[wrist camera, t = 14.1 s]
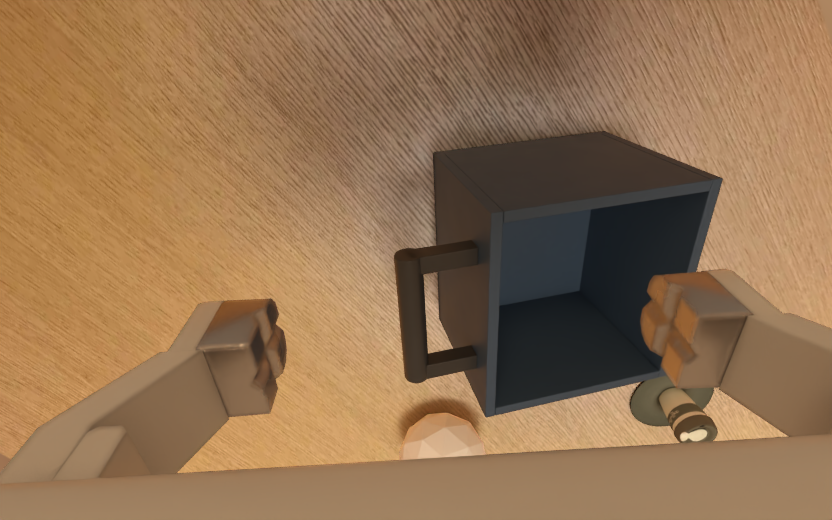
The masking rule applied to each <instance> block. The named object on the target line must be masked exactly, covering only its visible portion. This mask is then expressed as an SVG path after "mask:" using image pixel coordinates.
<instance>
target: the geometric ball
mask: <svg viewBox="0 0 832 520" xmlns="http://www.w3.org/2000/svg"><path fill="white" fill-rule="evenodd" d="M474 455H486V454H485V449H484V444H483V441H482V440H481V438H480V437H479V435H478V434H477V432H476V431H475V429H474V428H473V426H472V425H471V423H470V422H469V421H467V420H464V419H462V418H459V417H457V416H455V415H452V414H450V413H435V414H427V415H426V416H425V417H423V418H422V419H421V420H419V421H418V422H417V423H415V424H414V425H413V426H411V427H410V428H409V429H408V431H407V434H406V436H405V439H404V441H403V443H402V446H401V448H400V451H399V456H400V460H408V459H424V458H441V457H457V456H474Z"/></svg>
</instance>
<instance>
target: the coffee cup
mask: <svg viewBox="0 0 832 520" xmlns="http://www.w3.org/2000/svg"><path fill="white" fill-rule="evenodd" d="M713 391H714V388H685V389H676V387H675V386H674V384H673V383H672V381H671V380H670V378H669V377H668V376H667V374H666V376H663V377H658V378H655V379H651V380H646V381H644V382H643V383H642V384H641V385H640V386H639V387H638V388H637V389H636V391H635V392H634V394H633V396H632V399H631V403H630V406H631V411H632V414H633V415H634V417H635V418H636V419H637V420H639V421H640V422H642V423H644V424H647V425H651V426H671V428H672V430H673V431H674V435H675V437H676V438H677V439H678V441H679V442H680V443H693V442H711V441H713V440H714V439H715V438H716V436H717V433H718V431H717V428H716V426H715V424H714V422H713V420H712V419H711V418H710V417H708V416H707V415H706V414H705V412H704V411H703V409H704V408H705V407H706V405H707V404H708V403H709V401H710V399H711V397H712V395H713Z"/></svg>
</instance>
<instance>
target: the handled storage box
mask: <svg viewBox="0 0 832 520" xmlns="http://www.w3.org/2000/svg"><path fill="white" fill-rule="evenodd" d="M433 165H434V192H435V218H436V246H430V247H424V248H418V249H413V248H406V249H402V250H399V251H397V252H396V253H395V255H394V263H395V274H396V285H397V296H398V307H399V318H400V328H401V339H402V350H403V361H404V372H405V378H406V379H407V380H408V381H409V382H412V383H421V382H423V381H425V380H426V379H429V378H433V377H438V376H443V375H448V374H452V373H457V372H462V371H464V372H465V375H466V377H467V379H468V381H469V383H470V385H471V387H472V390H473V392H474V394H475V396H476V398H477V400H478V402H479V404H480V407H481V409H482V411H483V413H484V415H485V417H490V416H494V415H499V414H503V413H508V412H512V411H516V410H521V409H525V408H529V407H534V406H538V405H542V404H547V403H551V402H555V401H560V400H564V399H568V398H573V397H577V396H581V395H586V394H590V393H594V392H599V391H603V390H607V389H612V388H616V387H620V386H625V385H629V384H633V383H638V382H642V381H646V380H651V379H655V378H658V377H663V376H666V373H665V371H664V370H663V368H662V367H661V362H662V358H663V357H661V356H659V355H658V354H656V353H654V352H652V351H650V349H649V348H648V346H647V345H646V343H645V341H644V338H643V336H642V333H641V324H640V319H641V314H642V309H643V308H644V307H645V306H646V305H647V304H648V303H649V302H650V301H651V300H652V299H651V297H650V296H649V294H648V293H647V289H648V285H649V282H650V280H651V279H652V277H653V276H654V275H665V274H678V273H691V272H696V270H697V267H698V263H699V260H700V256H701V253H702V249H703V246H704V242H705V239H706V235H707V232H708V229H709V225H710V222H711V218H712V215H713V211H714V208H715V204H716V201H717V197H718V194H719V190H720V187H721V184H722V180H723V179H722V178H720V177H717V176H715V175H712V174H710V173H707V172H705V171H702V170H700V169H697V168H695V167H692V166H690V165H687V164H685V163H682V162H680V161H677V160H675V159H672V158H670V157H667V156H665V155H662V154H660V153H657V152H655V151H652V150H650V149H647V148H645V147H642V146H640V145H637V144H635V143H632V142H630V141H627V140H625V139H622V138H620V137H617V136H615V135H612V134H610V133H607V132H605V131H603V132H595V133H587V134H579V135H571V136H563V137H555V138H546V139H538V140H530V141H522V142H514V143H506V144H498V145H490V146H482V147H474V148H466V149H458V150H450V151H442V152H434V153H433ZM433 272H438V297H439V319H440V321H441V323H442V325H443V327H444V330H445V332H446V334H447V336H448V338H449V340H450V342H451V345H452V347H453V349H449V350H444V351H439V352H434V353H429V354H428V349H427V331H426V313H425V295H424V277H423V274H427V273H433Z"/></svg>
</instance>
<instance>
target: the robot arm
mask: <svg viewBox="0 0 832 520" xmlns="http://www.w3.org/2000/svg"><path fill="white" fill-rule="evenodd" d="M647 293H648V294H649V296H650V297H651V299H652V300H651V301H650V302H649V303H648V304H647V305H646V306H645V307H644V308H643V309H642V314H641V319H640V324H641V333H642V336H643V338H644V341H645V343H646V345H647V346H648V348H649V349H650V351H652V352H654V353H656V354H658V355H659V356H661V357H663V358H662V362H661V367H662V368H663V370H664V371H665V373H666V374H667V376H668V377H669V378H670V380H671V381H672V383H673V384H674V386H675V387H676V389H685V388H714V387H720V388H719V390H721V391H722V392H724V393H725V394H727V395H728V396H730V397H731V398H733V399H734V400H736V401H737V402H739V403H740V404H742V405H743V406H745V407H746V408H747V409H749V410H750V411H752V412H753V413H755V414H756V415H758V416H759V417H761V418H762V419H764V420H765V421H767V422H768V423H770V424H771V425H773V426H774V427H776V428H777V429H778V430H780V431H781V432H783V433H784V434H786V435H787V436H789V437H775V438H759V439H744V440H728V441H711V442H693V443H676V444H659V445H641V446H624V447H607V448H589V449H572V450H556V451H539V452H523V453H507V454H490V455H474V456H457V457H441V458H424V459H408V460H391V461H375V462H358V463H341V464H325V465H308V466H291V467H275V468H258V469H241V470H225V471H208V472H192V473H177V472H178V471H179V470H180V469H181V468H182V467H183V466H184V465H185V464H186V463H187V462H188V461H189V460H190V459H191V458H192V457H193V456H194V455H195V454H196V453H197V452H198V451H199V450H200V448H201V447H202V446H203V445H204V444H205V443H206V442H207V441H208V440H209V439H210V438H211V437H212V436H213V435H214V434H215V433H216V432H217V431H218V430H219V429H220V428H221V427H222V426H223V425H224V424H225V423H226V422H227V421H228V420H229V418H228V417H236V416H247V415H258V414H270V412H271V409H272V406H273V403H274V400H275V396H276V393H277V390H278V387H277V384H276V380H275V379H276V378H277V377H279V376H280V375H281V374H282V373H283V370H284V367H285V363H286V351H287V349H286V340H285V336H284V332H283V330H282V329H281V328H279V327H278V326H277V325H276V321H277V318H278V316H279V313H278V310H277V307H276V303H275V302H274V301H273V300H272V299H252V300H228V301H211V302H202V303H200V304H198V305H197V307H196V308H195V310H194V311H193V313H192V314H191V316H190V317H189V319H188V321H187V322H186V324H185V325H184V327H183V328H182V330H181V331H180V333H179V334H178V336H177V337H176V339H175V341H174V342H173V344H172V345H171V347H170V348H169V350H168V351H167V352H159V353H158V354H156V355H155V356H153V357H151V358H150V359H148V360H146V361H145V362H143V363H142V364H140V365H138V366H137V367H135V368H134V369H132V370H130V371H129V372H127V373H125V374H124V375H122V376H121V377H119V378H117V379H116V380H114V381H113V382H111V383H109V384H108V385H106V386H104V387H103V388H101V389H100V390H98V391H96V392H95V393H93V394H92V395H90V396H88V397H87V398H85V399H84V400H82V401H80V402H79V403H77V404H75V405H74V406H72V407H71V408H69V409H67V410H66V411H64V412H63V413H61V414H59V415H58V416H56V417H54V418H53V419H51V420H50V421H48V422H46V423H45V424H43V425H42V426H40V427H38V428H37V429H36V430H35V431H34V433H33V434H32V435H31V436H30V437H29V439H28V440H27V441H26V442H25V444H24V445H23V446H22V447H21V448H20V450H19V451H18V452H17V453H16V454H15V456H14V457H13V458H12V459H11V460H10V462H9V463H8V464H7V465H6V467H5V468H4V469H3V470H2V471H1V472H0V520H832V329H831V328H828V327H826V326H823V325H821V324H818V323H815V322H813V321H810V320H807V319H805V318H802V317H800V316H797V315H794V314H792V313H786V314H783V313H782V312H780V311H779V310H778V309H777V308H776V307H775V306H773V305H772V304H771V303H770V302H769V301H768V300H766V299H765V298H764V297H763V296H762V295H761V294H759V293H758V292H757V291H756V290H755V289H753V288H752V287H751V286H750V285H749V284H748V283H746V282H745V281H744V280H743V279H742V278H741V277H739V276H738V275H737V274H736V273H735V272H734V271H731V270H728V269H719V270H708V271H701V272H691V273H678V274H665V275H654V276H653V277H652V279H651V280H650V282H649V285H648V289H647Z"/></svg>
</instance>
